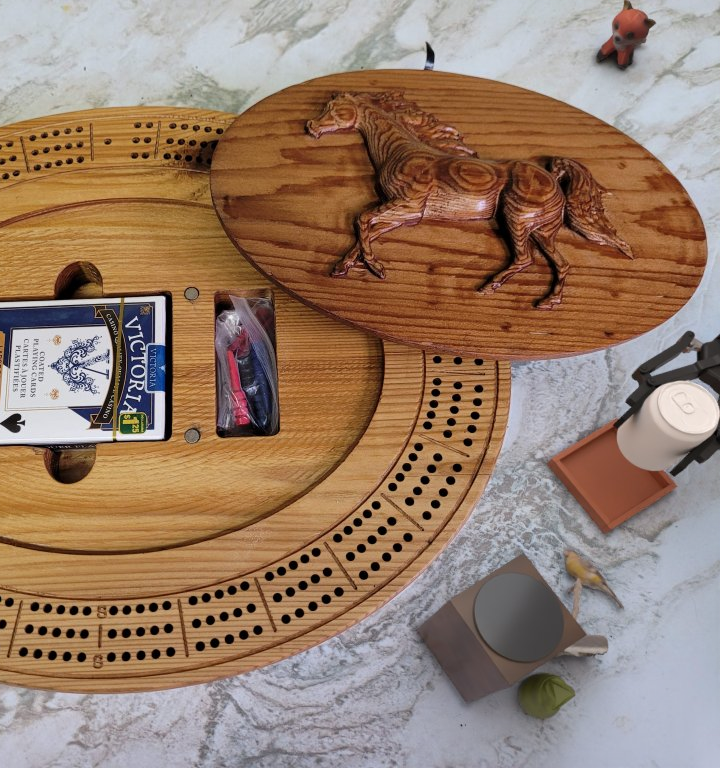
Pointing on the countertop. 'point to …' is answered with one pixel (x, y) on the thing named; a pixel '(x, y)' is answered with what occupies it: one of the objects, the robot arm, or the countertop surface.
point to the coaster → (518, 617)
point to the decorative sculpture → (584, 576)
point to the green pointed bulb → (544, 694)
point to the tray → (608, 479)
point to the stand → (468, 650)
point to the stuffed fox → (626, 34)
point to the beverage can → (668, 425)
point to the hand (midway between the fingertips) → (647, 446)
